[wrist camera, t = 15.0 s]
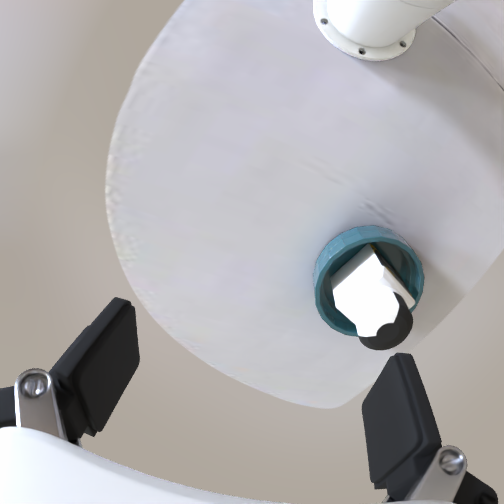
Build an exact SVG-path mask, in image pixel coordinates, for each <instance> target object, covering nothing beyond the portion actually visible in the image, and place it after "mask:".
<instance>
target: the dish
mask: <svg viewBox="0 0 504 504" xmlns="http://www.w3.org/2000/svg"><path fill="white" fill-rule="evenodd" d="M368 243H371V244H372V245H373V246H374V247H375V248H376V249H377V250H378V251H379V252H380V254H381V255H382V256H383V257H384V258H385V259H386V260H387V261H388V262H389V264H390V265H391V266H392V267H393V268H394V269H395V270H396V271H397V273H398V274H399V275H400V276H401V278H402V280H403V281H404V283H405V285H406V286H407V288H408V290H409V291H410V293H411V295H412V297H413V298H414V300H415V305H414V306H412V307H411V308H410V309H409V310H410V312H411V313H412V312H413V310H414V309H415V308H416V306H417V304H418V302H419V300H420V297H421V295H422V293H423V286H424V273H423V268H422V264H421V261H420V260H419V258H418V257H417V255H416V254H415V252H414V251H413V250H412V248H411V247H410V246H409V245H408V244H407V242H406V241H405V240H404V239H403V238H402V237H401V236H399V235H398V234H396V233H395V232H393V231H392V230H390V229H387V228H383V227H379V226H374V225H373V226H362V227H356V228H353V229H351V230H348V231H346V232H344V233H341V234H339V235H338V236H337V237H336V238H335V239H333V240H332V241H331V242H330V243H329V244H327V246H326V247H325V248H324V250H323V251H322V253H321V254H320V256H319V257H318V259H317V262H316V265H315V269H314V273H313V282H314V294H315V305H316V307H317V309H318V311H319V314H320V316H321V318H322V319H323V320H324V321H325V322H326V323H327V324H328V325H329V326H330V327H331V328H332V329H334V330H336V331H338V332H340V333H342V334H345V335H349V336H356V337H359V336H358V332H357V328H356V325H355V324H354V323H353V322H352V321H351V320H350V319H348V318H347V317H346V316H345V315H344V314H343V313H342V312H341V311H339V310H338V309H337V308H336V305H335V300H334V294H333V289H332V284H331V280H330V278H331V276H332V275H333V274H335V273H336V272H337V271H338V270H339V269H340V268H341V267H342V266H344V265H345V264H346V263H347V262H348V261H349V260H350V259H351V258H353V257H354V256H355V255H356V254H357V253H358V252H359V251H360V250H361V249H362V248H363V247H365V246H366V245H367V244H368Z"/></svg>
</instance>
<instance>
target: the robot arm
mask: <svg viewBox="0 0 504 504" xmlns="http://www.w3.org/2000/svg"><path fill="white" fill-rule="evenodd" d="M454 1H456V0H314V4H313V11H314V17H315V20H316V23H317V25H318V27H319V29H320V31H321V32H322V33H323V35H324V36H325V37H326V38H327V40H329V41H330V42H331V43H332V44H333V45H334V46H335V47H337V48H338V49H340V50H341V51H343V52H345V53H347V54H349V55H351V56H353V57H356V58H359V59H362V60H369V61H384V60H390V59H392V58H395V57H397V56H399V55H401V54H402V53H404V52H405V51H406V50H407V49H408V48H409V47H410V45H411V44H412V42H413V40H414V37H415V34H416V27H417V26H419V25H420V24H422V23H423V22H425V21H426V20H428V19H429V18H431V17H432V16H433V15H435V14H436V13H438V12H439V11H441V10H442V9H444V8H446V7H447V6H449V5H450V4H451V3H453V2H454ZM322 22H325V23H326V24H325V25H324V24H322ZM400 44H401V45H402V46H401V45H400ZM359 51H361V52H362V53H363V54H360V53H359ZM139 361H140V356H139V347H138V337H137V326H136V314H135V308H134V306H132V305H131V302H130V301H128V300H124V299H121V298H117V297H115V298H114V299H113V300H112V301H111V302H110V303H109V304H108V305H107V306H106V307H105V309H104V310H103V311H102V312H101V313H100V314H99V316H98V317H97V318H96V319H95V320H94V321H93V322H92V324H91V325H89V326H87V327H86V328H85V329H84V330H83V332H82V333H81V334H80V335H79V336H78V337H77V338H76V340H75V341H74V342H73V343H72V344H71V345H70V347H69V348H68V349H67V350H66V352H65V353H64V354H63V355H62V356H61V358H60V359H59V360H58V361H57V363H56V364H55V365H54V366H53V367H52V369H51V370H50V371H49V372H46V371H45V370H42V369H39V368H36V369H35V368H34V369H33V368H32V369H29V370H26V371H24V372H23V373H21V374H20V375H19V377H18V378H17V380H16V383H15V386H12V387H6V388H0V504H292V503H281V502H271V501H262V500H255V499H248V498H241V497H235V496H230V495H224V494H219V493H215V492H210V491H205V490H201V489H197V488H193V487H189V486H185V485H181V484H178V483H174V482H171V481H167V480H164V479H161V478H157V477H154V476H151V475H148V474H145V473H142V472H140V471H137V470H134V469H132V468H129V467H126V466H124V465H121V464H118V463H116V462H113V461H111V460H108V459H106V458H103V457H101V456H99V455H96V454H94V453H92V452H90V451H87V450H85V449H83V448H82V444H81V441H80V438H81V437H82V435H83V433H86V434H88V435H90V436H93V437H94V436H95V435H96V433H97V431H98V432H101V431H102V430H103V428H104V426H105V424H106V423H107V421H108V419H109V417H110V415H111V413H112V412H113V410H114V408H115V406H116V405H117V403H118V401H119V399H120V397H121V395H122V394H123V392H124V390H125V388H126V387H127V385H128V383H129V381H130V380H131V378H132V376H133V374H134V373H135V371H136V369H137V367H138V365H139ZM362 415H363V421H364V428H365V436H366V443H367V453H368V461H369V471H370V480H371V482H372V483H374V486H375V489H387V493H388V495H387V496H386V497H385V499H384V500H383V501H382V503H377V504H498V498H497V494H496V493H495V491H494V490H493V489H492V488H491V487H489V486H488V485H486V484H485V483H483V482H482V481H480V480H479V479H477V478H476V477H475V476H473V475H472V474H470V473H469V472H467V471H466V469H467V459H466V456H465V455H464V453H463V452H462V451H461V450H460V449H459V448H457V447H455V446H451V445H447V446H443V447H442V445H441V442H442V441H441V438H440V434H439V431H438V428H437V424H436V421H435V418H434V415H433V412H432V409H431V406H430V403H429V400H428V397H427V394H426V391H425V388H424V385H423V383H422V380H421V377H420V375H419V372H418V369H417V367H416V364H415V361H414V359H413V356H412V355H411V354H406V353H396V354H395V355H394V356H391V357H390V358H389V360H388V361H387V363H386V365H385V367H384V368H383V370H382V372H381V374H380V375H379V377H378V379H377V380H376V382H375V384H374V385H373V387H372V388H371V390H370V392H369V393H368V395H367V397H366V398H365V400H364V402H363V404H362Z"/></svg>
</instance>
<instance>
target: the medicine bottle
mask: <svg viewBox="0 0 504 504" xmlns="http://www.w3.org/2000/svg"><path fill="white" fill-rule="evenodd" d="M330 280H331V284H332V289H333V294H334V300H335V305H336V308H337V309H338V310H339V311H341V312H342V313H343V314H344V315H345V316H346V317H347V318H348V319H350V320H351V321H352V322H353V323H354V324H355V325H356V328H357V332H358V336H359V339H360V341H361V343H362V344H363V345H364V346H366V347H368V348H370V349H373V350H387V349H390V348H393V347H395V346H397V345H399V344H400V343H401V342H402V341H404V340H405V338H406V337H407V336H408V334H409V333H410V331H411V329H412V325H413V317H412V314H411V312H410V310H409V309H410V308H411V307H412V306H414V305H415V300H414V298H413V297H412V295H411V293H410V291H409V290H408V288H407V286H406V285H405V283H404V281H403V280H402V278H401V276H400V275H399V274H398V273H397V271H396V270H395V269H394V268H393V267H392V266H391V265H390V264H389V262H388V261H387V260H386V259H385V258H384V257H383V256H382V255H381V254H380V252H379V251H378V250H377V249H376V248H375V247H374V246H373V245H372V244H371V243H368V244H367V245H366V246H365V247H363V248H362V249H361V250H360V251H359V252H358V253H357V254H356V255H355V256H354V257H353V258H351V259H350V260H349V261H348V262H347V263H346V264H345V265H344V266H342V267H341V268H340V269H339V270H338V271H337V272H336V273H335V274H333V275H332V276H331V278H330Z"/></svg>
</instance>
